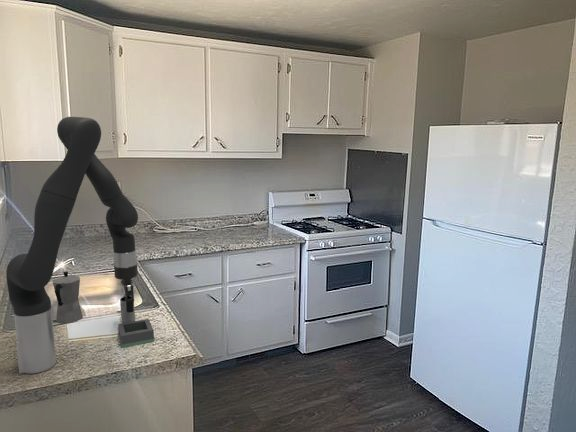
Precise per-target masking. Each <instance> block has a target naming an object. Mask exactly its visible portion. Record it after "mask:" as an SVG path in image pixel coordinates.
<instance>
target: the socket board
mask: <svg viewBox="0 0 576 432" xmlns="http://www.w3.org/2000/svg"><path fill="white" fill-rule="evenodd" d="M117 332H118V339H119V343H120V346H121V348H128V347H135V346H139V345H143V344H149V343H153V342H155V333H154V332H155V331H154V328H153V326H152V324H151V322H150V319H149V318H145V319H139V320H135V321H132V322H126V323H122V322H121V323H117Z"/></svg>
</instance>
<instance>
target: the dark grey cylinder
mask: <svg viewBox="0 0 576 432" xmlns="http://www.w3.org/2000/svg"><path fill="white" fill-rule="evenodd" d="M130 298H131V296H128V299H130ZM119 301H120V302H119V305H120V316H121V319H120V320H121V323H126V322H132V321H136V315H135V311H136V310H135V301H134V302H133V308H134V311H133V312H130V313H127V309H126V302H125V297H123V296H122V297H121V298H119Z"/></svg>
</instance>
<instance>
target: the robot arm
mask: <svg viewBox="0 0 576 432" xmlns="http://www.w3.org/2000/svg"><path fill="white" fill-rule="evenodd" d="M56 132H57V133H56V134H57V137H58V139H59V140H60V142H61V143H62V145H64V147H65V148H66V150H67V151H66V154H65V156H64V158H63V160H62V162H61V163H60V164H59V166H58V167H57V168H56V169H55V170H54V171H53V172H52V173H51V174H50V176H48V178H47V179H46V181H45V182H44V183H43V185H42V187H41V190H40V193H39V194H38V197H37V200H36V204H35V207H34V213H33V214H34V219H33V223H34V225H33V228H34V229H33V236H32V237H33V238H32V242H31V245H30V247H29V249H28V252H27V253H21V254H18V255H15V256H14V257H13V258H11V259H10V261H9V262H8V264H7V266H6V275H5V276H6V283H7V290H8V297H9V298H8V299H9V301H10V304H11V306H12V309H13V316H14V317H13V319H14V325H15V326H14V327H15V336H16V340H15V348H16V350H15V351H16V357H17V364H18V365H17V366H18V374H19V375H20V374H39V373H42V372H45V371H47V370H50V369H51V368H53V367H54V366H55V365H56V363H57V354H56V345H55V343H56V342H55V335H54V334H55V333H54V323H53V314H52V313H53V311H52V300H51V297H50V296H49V295H48V292H47V291H46V288H45V287H46V286H47V285H48V284H49V282H50V281H51V279H52V277H53V274H54V270H55V267H56V263H57V262H56V261H57V258H58V254H59V249H60V246H61V243H62V240H63V237H64V234H65V231H66V228H67V226H68V222H69V220H70V217H71V215H72V213H73V209H74V207H75V204H76V200H77V198H78V193H80V189H81V186H82V183H83V181H84V178H85V177H87V179H88V180H89V182H90V183H91V185H92V187H93V188H94V191H95V192H96V194H97V197H98V198H99V200H100V201H101V203H102V204H103V206H105V207H108V210H107V211H106V213H105V223H106V225H107V228H108V231H109V234H110V237H111V240H112V246H113V247H112V248H113V260H112V261H113V269H114V270H113V271H114V278H115V279H117V280H121V281H120V282H119V283H120V289H121V291H122V297H125V302H126V309H127V313H130V312H133V311H134V309H135V307H134V308H133V302H134V303H135V295H134V294H135V291H134V287H135V286H134V281H133V279H134V278H137V276H138V274H139V273H138V258H137V252H136V240H135V236H134V234H132V233H130V232H129V231H128V230H127V228H128V229H130V228H133V227H135V226H136V225H137V224H138V220H139V214H138V211H137V208H135V206H134V205H133V203H132V202H131V201H130V200H129V199H128V198H127V196H125V195H124V193H123V192H122V190H121V187H120V186H119V183H118V181H117V179H116V177H115V176H114V175H113V173H112V172H111V171H110V170H109V169H108V168H107V167H106V165H105V164H103V162H102V161H101V160H100V159H99V157H97V155H96V154H95V153H96V151H97V149H98V147H99V145H100V142H101V138H102V129H101V126H100V124H99V123H98V121H97V120H95V119H93V118H90V117H84V116H82V117H81V116H66V117H63V118H62V119H61V120H60V121H59V122H58V124H57V128H56ZM85 175H86V176H85ZM128 296H131V298H130V299H128Z"/></svg>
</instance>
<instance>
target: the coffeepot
mask: <svg viewBox="0 0 576 432" xmlns="http://www.w3.org/2000/svg"><path fill="white" fill-rule="evenodd" d="M80 281H81V277H80V276H79V275H76V274H69V271H68V270H67V271H63V275H62V276H59V277H57V278H54V279H52V285H53V289H54V294H55V297H56V300H57V310H56V318H55V319H56V320H55V321H56V323H58V324H71V323H72V324H73V323H74V322H75V323H76V322H78V321H80V320H81V319H83V312H82V309H81V305H80V300H79V296H80V284H81V282H80Z"/></svg>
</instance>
